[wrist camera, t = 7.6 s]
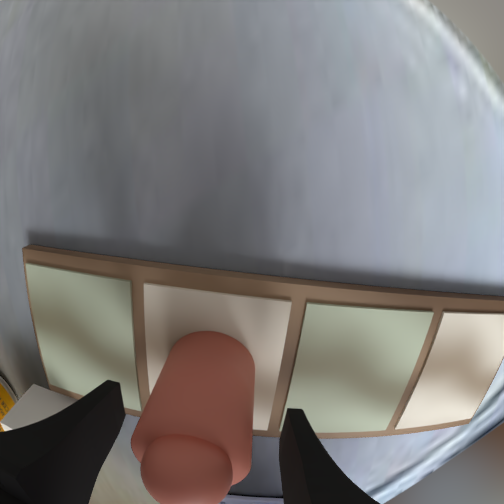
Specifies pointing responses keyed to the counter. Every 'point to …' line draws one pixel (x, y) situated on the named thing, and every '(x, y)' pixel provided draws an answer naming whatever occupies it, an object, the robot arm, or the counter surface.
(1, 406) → the beer can
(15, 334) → the counter surface
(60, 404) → the die
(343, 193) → the counter surface
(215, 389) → the pawn
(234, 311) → the board
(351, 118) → the counter surface
